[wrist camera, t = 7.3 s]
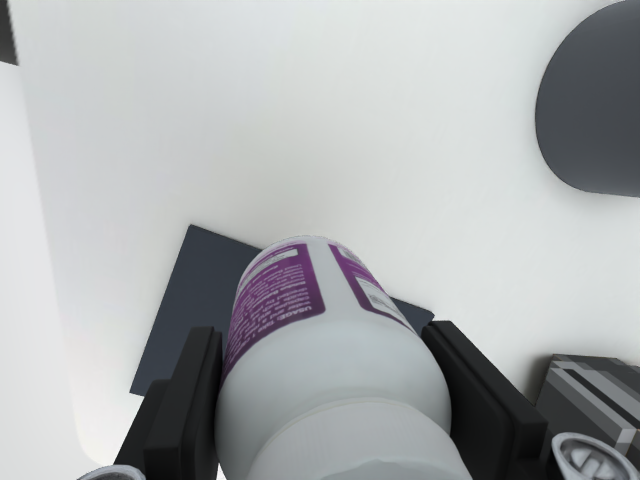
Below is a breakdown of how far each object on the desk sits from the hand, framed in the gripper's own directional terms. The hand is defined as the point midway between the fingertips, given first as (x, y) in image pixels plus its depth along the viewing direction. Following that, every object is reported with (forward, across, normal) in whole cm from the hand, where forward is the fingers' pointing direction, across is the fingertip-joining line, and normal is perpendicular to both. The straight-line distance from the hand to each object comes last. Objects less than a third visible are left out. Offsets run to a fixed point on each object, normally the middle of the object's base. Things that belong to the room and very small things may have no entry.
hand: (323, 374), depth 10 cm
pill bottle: (+5, 0, 0) cm, 5 cm away
